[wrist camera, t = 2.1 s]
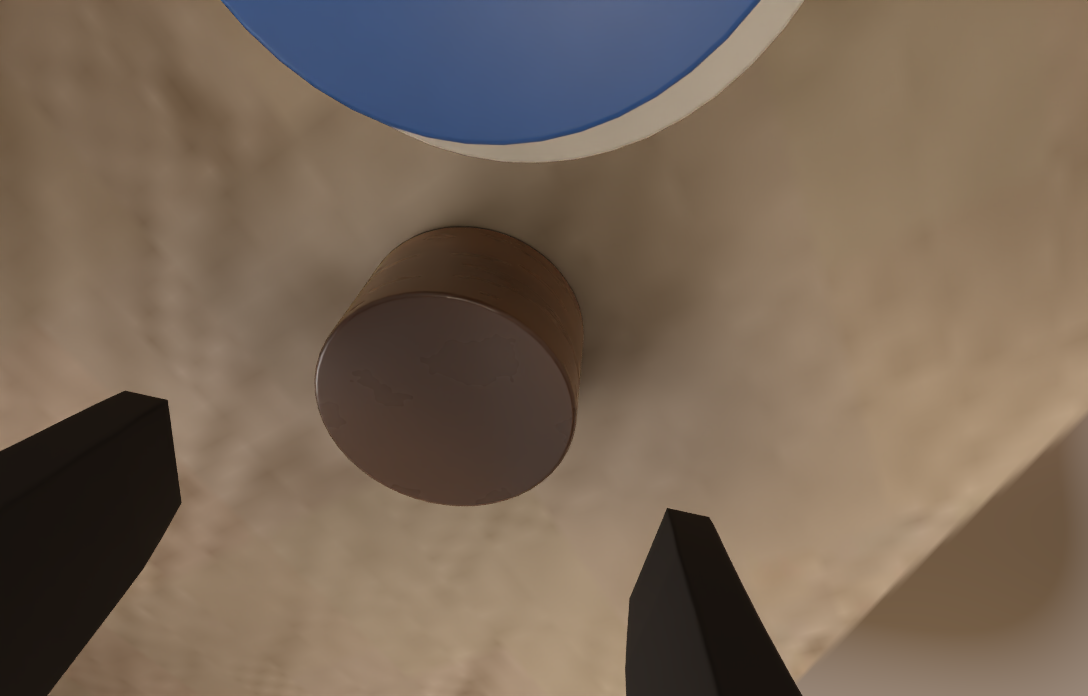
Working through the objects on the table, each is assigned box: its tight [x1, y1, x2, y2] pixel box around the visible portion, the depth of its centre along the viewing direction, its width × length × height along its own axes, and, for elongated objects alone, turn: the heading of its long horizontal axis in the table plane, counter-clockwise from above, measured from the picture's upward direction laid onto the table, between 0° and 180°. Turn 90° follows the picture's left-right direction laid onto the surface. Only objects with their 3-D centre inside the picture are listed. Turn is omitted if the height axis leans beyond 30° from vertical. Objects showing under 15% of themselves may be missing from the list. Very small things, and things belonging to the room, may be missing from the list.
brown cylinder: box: [315, 227, 584, 506], centre depth 13 cm, size 5×5×3 cm
